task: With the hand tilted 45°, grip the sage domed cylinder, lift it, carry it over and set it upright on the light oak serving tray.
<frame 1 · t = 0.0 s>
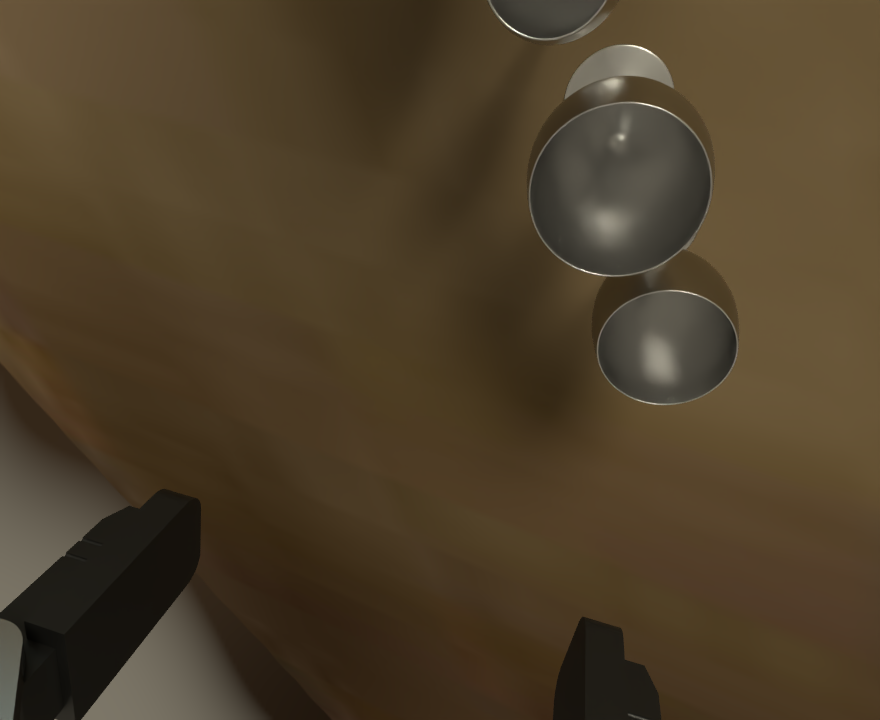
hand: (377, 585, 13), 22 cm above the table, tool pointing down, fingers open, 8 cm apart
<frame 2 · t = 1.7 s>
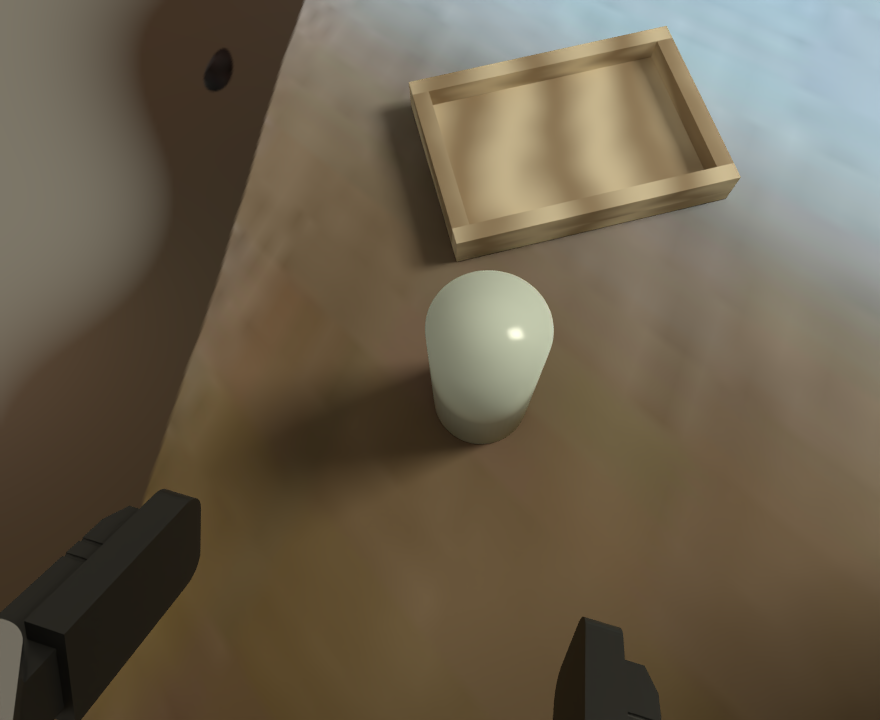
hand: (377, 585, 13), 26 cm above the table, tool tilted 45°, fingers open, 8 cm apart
sage domed cylinder: (480, 398, 41), on the table
tray: (562, 150, 47), on the table
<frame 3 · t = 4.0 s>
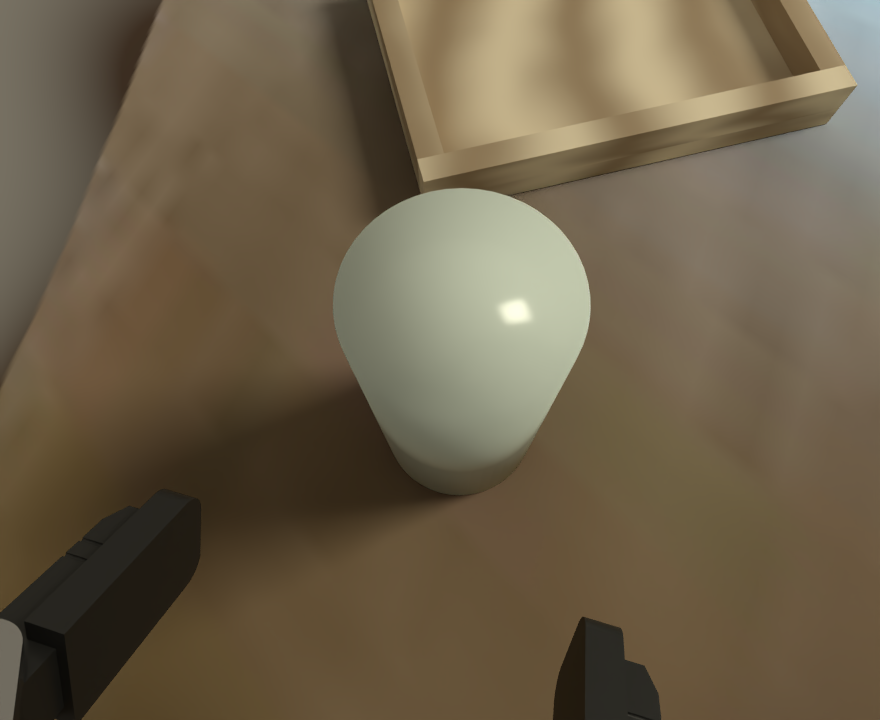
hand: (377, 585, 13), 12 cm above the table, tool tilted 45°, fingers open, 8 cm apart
sage domed cylinder: (458, 421, 26), on the table
tray: (583, 57, 32), on the table
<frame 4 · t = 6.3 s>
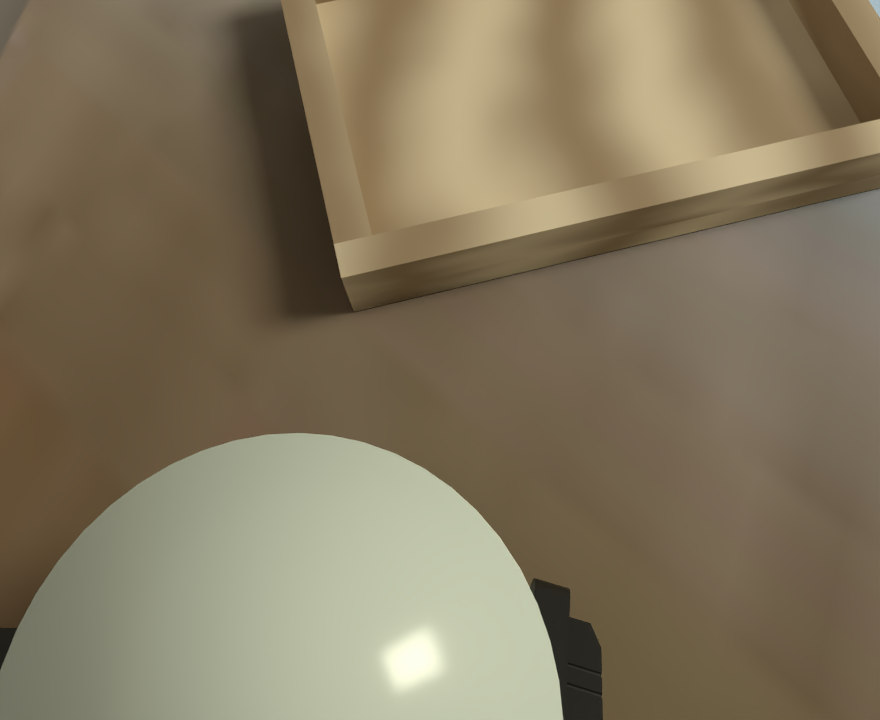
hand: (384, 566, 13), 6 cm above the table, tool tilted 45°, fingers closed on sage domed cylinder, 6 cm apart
sage domed cylinder: (387, 632, 18), on the table, touching gripper
tray: (573, 90, 24), on the table
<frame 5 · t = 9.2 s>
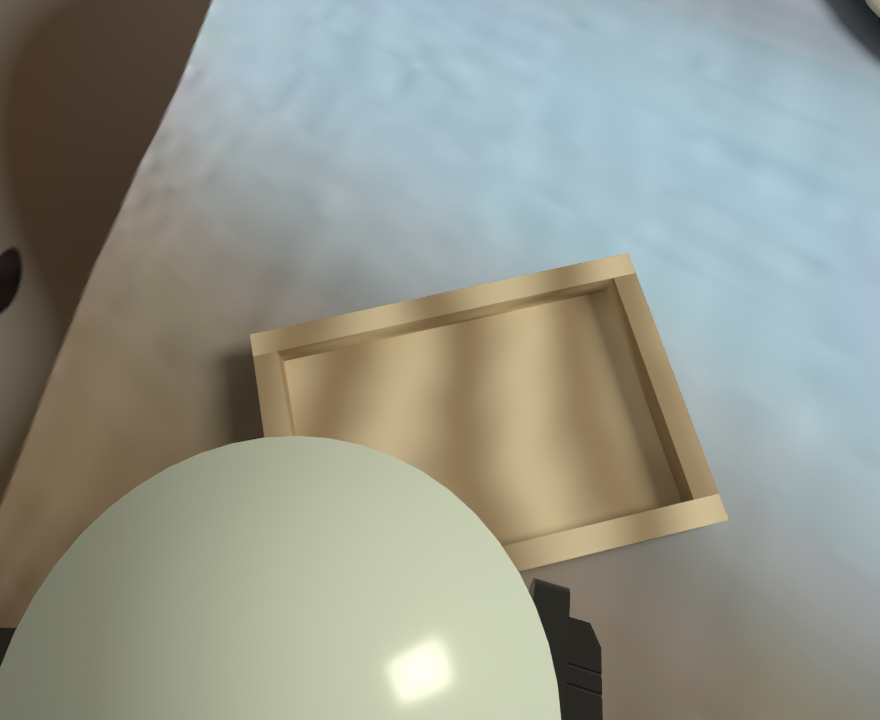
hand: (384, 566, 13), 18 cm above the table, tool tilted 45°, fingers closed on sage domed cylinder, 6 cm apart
sage domed cylinder: (387, 633, 18), point 12 cm above the table, touching gripper
tray: (474, 433, 32), on the table
when the fingers open (8 cm above the table, at t = 12.3 s): sage domed cylinder drops 1 cm, resting on tray.
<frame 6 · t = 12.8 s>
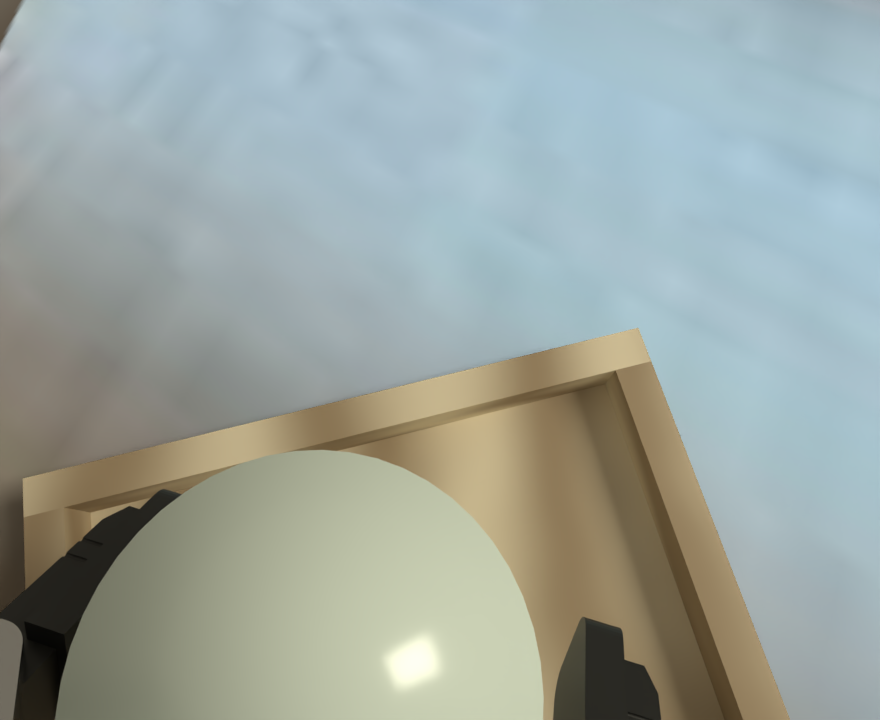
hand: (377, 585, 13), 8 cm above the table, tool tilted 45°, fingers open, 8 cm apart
sage domed cylinder: (388, 632, 19), point 1 cm above the table, touching tray
tray: (394, 627, 20), on the table
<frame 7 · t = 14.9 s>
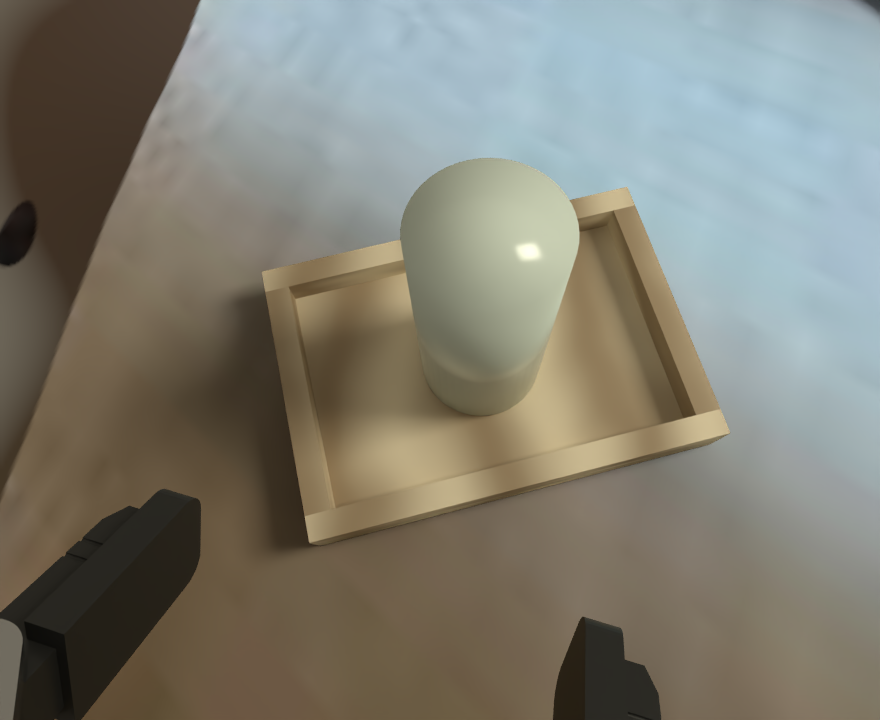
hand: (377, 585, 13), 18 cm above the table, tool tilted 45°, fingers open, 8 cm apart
sage domed cylinder: (480, 359, 32), point 1 cm above the table, touching tray
tray: (481, 364, 33), on the table
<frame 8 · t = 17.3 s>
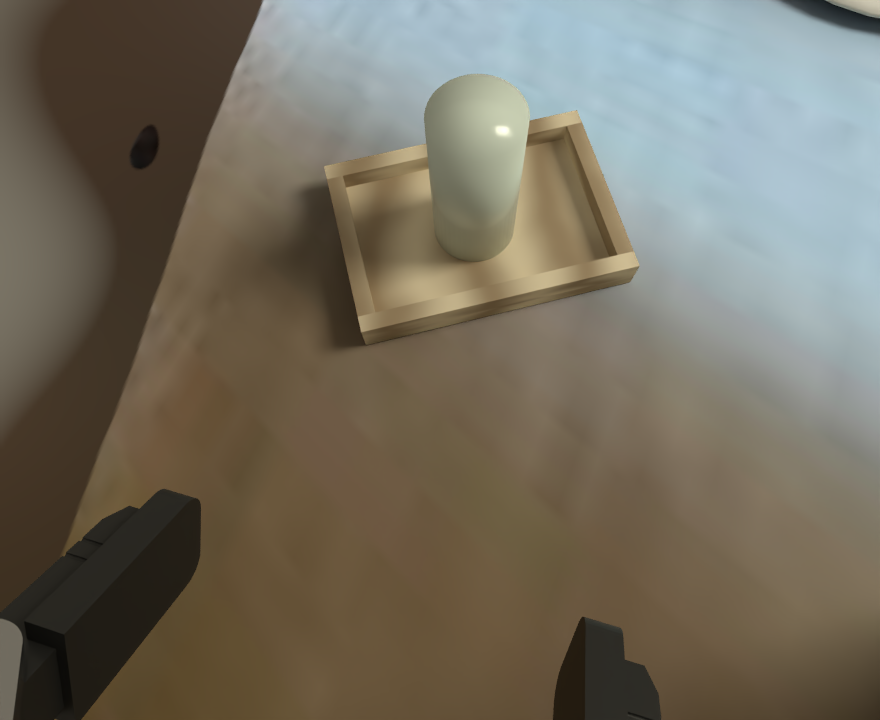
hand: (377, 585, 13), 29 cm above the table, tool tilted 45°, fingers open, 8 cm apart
sage domed cylinder: (474, 225, 47), point 1 cm above the table, touching tray
tray: (474, 232, 48), on the table
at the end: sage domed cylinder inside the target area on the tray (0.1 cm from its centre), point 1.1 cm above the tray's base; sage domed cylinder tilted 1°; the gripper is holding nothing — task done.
